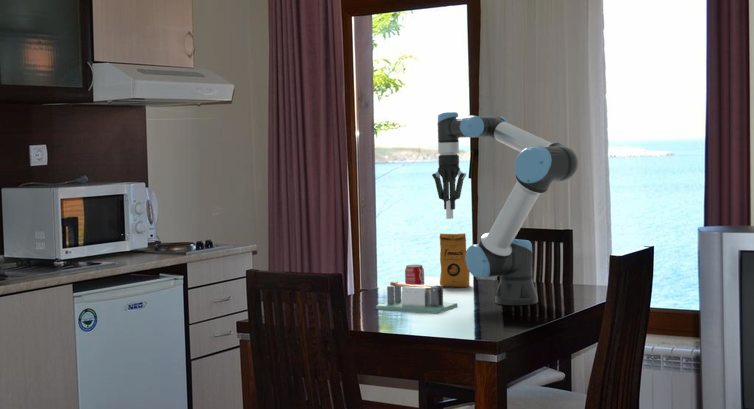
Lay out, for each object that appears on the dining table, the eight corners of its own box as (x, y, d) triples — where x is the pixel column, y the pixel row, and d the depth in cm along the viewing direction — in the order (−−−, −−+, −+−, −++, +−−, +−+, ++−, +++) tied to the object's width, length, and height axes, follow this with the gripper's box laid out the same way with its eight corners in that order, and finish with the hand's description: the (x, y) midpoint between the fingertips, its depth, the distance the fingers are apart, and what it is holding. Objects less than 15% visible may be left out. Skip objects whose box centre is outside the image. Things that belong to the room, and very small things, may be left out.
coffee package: (468, 288, 375) (467, 234, 374) (437, 288, 378) (436, 234, 377) (471, 285, 385) (470, 232, 384) (441, 284, 388) (440, 232, 387)
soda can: (423, 301, 342) (422, 266, 342) (404, 301, 344) (403, 266, 343) (426, 298, 349) (425, 264, 349) (407, 298, 351) (406, 264, 350)
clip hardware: (444, 308, 326) (443, 285, 326) (436, 310, 321) (435, 287, 320) (396, 304, 336) (396, 282, 336) (387, 307, 330) (387, 285, 330)
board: (457, 306, 329) (457, 303, 329) (437, 313, 315) (437, 309, 315) (397, 302, 341) (397, 299, 341) (376, 309, 327) (376, 305, 327)
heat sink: (436, 303, 329) (436, 285, 329) (424, 307, 322) (424, 288, 321) (413, 302, 334) (413, 284, 334) (402, 305, 326) (401, 287, 326)
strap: (436, 289, 325) (436, 286, 325) (433, 290, 323) (433, 287, 323) (393, 284, 334) (393, 281, 334) (390, 285, 332) (390, 282, 332)
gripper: (469, 153, 341) (470, 218, 342) (437, 154, 348) (438, 217, 349) (460, 154, 335) (461, 219, 336) (428, 154, 341) (429, 219, 342)
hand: (449, 218), depth 342 cm, fingers closed
